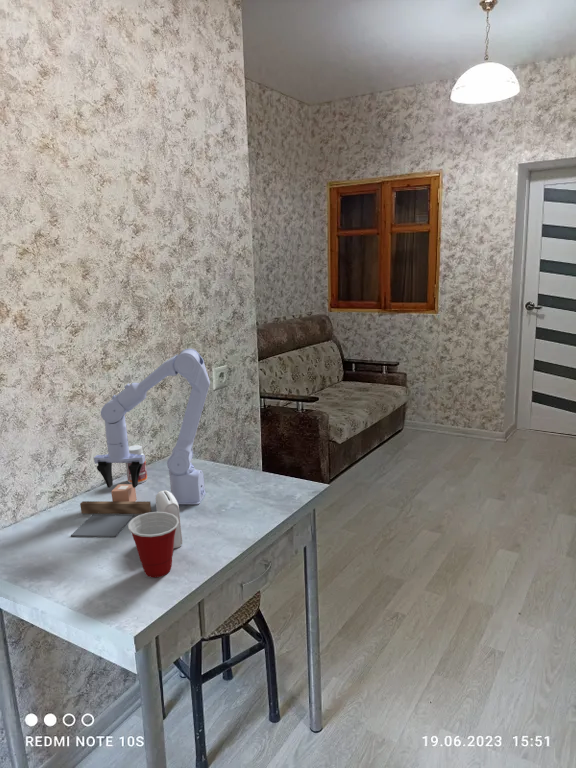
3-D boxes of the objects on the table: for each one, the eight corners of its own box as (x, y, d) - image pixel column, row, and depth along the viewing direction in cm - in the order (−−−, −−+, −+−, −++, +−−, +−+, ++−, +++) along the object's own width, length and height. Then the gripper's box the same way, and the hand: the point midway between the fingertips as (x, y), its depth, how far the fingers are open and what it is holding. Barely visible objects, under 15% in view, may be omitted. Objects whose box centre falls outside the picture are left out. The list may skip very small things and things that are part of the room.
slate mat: (133, 515, 149) (133, 514, 148) (115, 537, 137) (115, 535, 137) (92, 515, 150) (92, 514, 150) (70, 536, 138) (70, 535, 138)
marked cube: (136, 500, 159) (134, 484, 158) (129, 507, 154) (127, 490, 153) (120, 500, 160) (118, 484, 159) (113, 507, 155) (111, 490, 154)
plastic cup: (169, 587, 114) (163, 535, 111) (124, 581, 117) (117, 530, 114) (191, 560, 124) (187, 512, 121) (149, 555, 127) (144, 508, 124)
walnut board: (151, 511, 151) (150, 501, 150) (149, 513, 149) (148, 503, 149) (84, 511, 153) (82, 501, 153) (81, 513, 152) (80, 503, 151)
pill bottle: (151, 480, 174) (147, 447, 171) (133, 486, 170) (129, 452, 167) (141, 475, 178) (137, 443, 176) (124, 481, 174) (120, 448, 172)
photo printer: (157, 533, 138) (152, 488, 135) (174, 529, 139) (169, 484, 137) (167, 551, 129) (162, 503, 126) (184, 546, 130) (180, 499, 128)
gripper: (147, 437, 156) (151, 480, 159) (99, 437, 158) (105, 480, 161) (137, 444, 149) (142, 490, 152) (88, 445, 151) (94, 490, 154)
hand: (122, 486), depth 156 cm, fingers open, 7 cm apart
